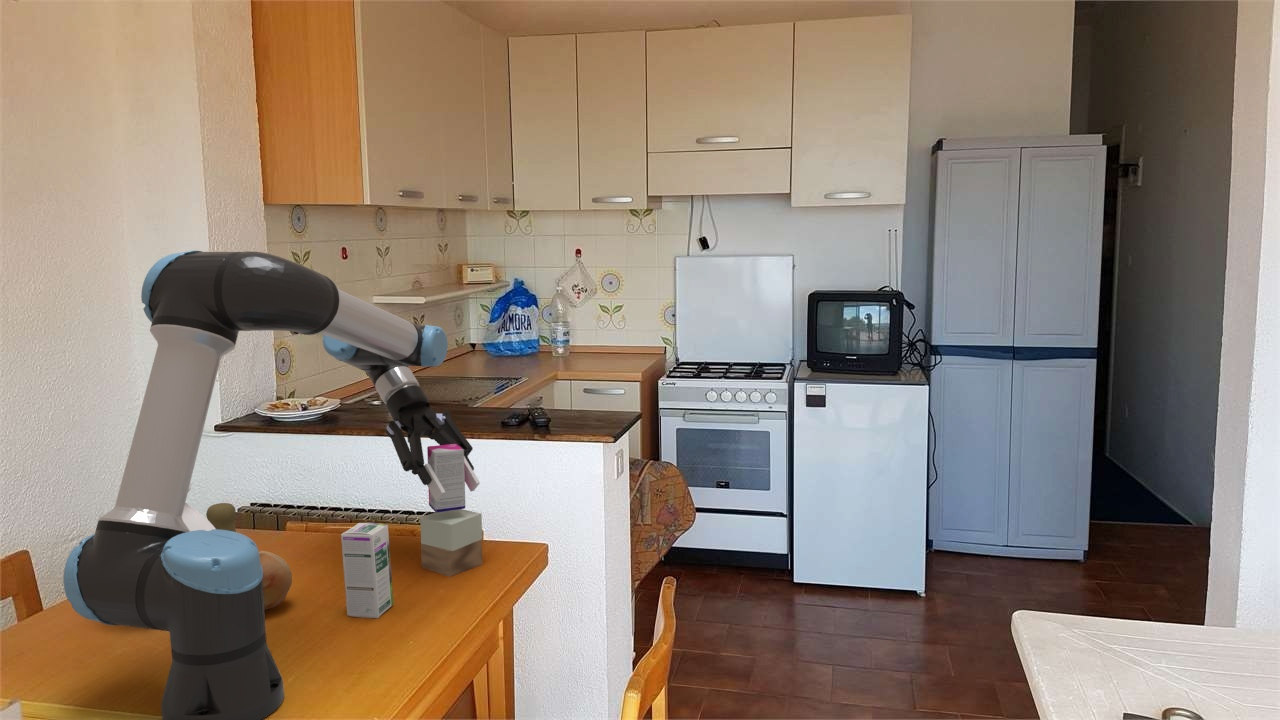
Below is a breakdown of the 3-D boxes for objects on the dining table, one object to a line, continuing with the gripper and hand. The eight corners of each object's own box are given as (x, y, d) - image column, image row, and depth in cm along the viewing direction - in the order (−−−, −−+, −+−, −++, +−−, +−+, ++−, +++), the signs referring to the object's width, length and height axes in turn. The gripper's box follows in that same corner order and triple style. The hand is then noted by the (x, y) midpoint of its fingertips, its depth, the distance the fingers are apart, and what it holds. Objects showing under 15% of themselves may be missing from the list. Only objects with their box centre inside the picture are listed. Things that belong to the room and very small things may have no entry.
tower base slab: (449, 577, 177) (448, 551, 176) (421, 568, 182) (420, 542, 181) (482, 565, 183) (481, 540, 182) (454, 556, 188) (453, 531, 187)
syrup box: (378, 619, 158) (373, 534, 156) (345, 616, 159) (340, 532, 157) (394, 605, 164) (389, 523, 162) (362, 603, 165) (357, 521, 163)
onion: (306, 604, 165) (303, 547, 163) (256, 624, 156) (252, 566, 155) (270, 593, 170) (266, 538, 168) (219, 612, 162) (215, 555, 160)
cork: (207, 556, 189) (203, 502, 187) (240, 552, 191) (236, 498, 190) (208, 566, 183) (203, 510, 182) (242, 561, 186) (238, 506, 184)
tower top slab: (452, 551, 176) (451, 524, 175) (421, 543, 180) (420, 517, 180) (482, 538, 183) (481, 513, 182) (451, 531, 187) (450, 506, 186)
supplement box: (467, 508, 179) (464, 448, 178) (435, 513, 177) (432, 452, 175) (458, 500, 185) (456, 442, 183) (428, 505, 182) (425, 446, 180)
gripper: (437, 400, 196) (492, 491, 187) (349, 415, 181) (404, 515, 173) (452, 376, 192) (509, 469, 183) (364, 391, 177) (421, 492, 168)
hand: (458, 491), depth 178 cm, fingers closed on supplement box, 7 cm apart
